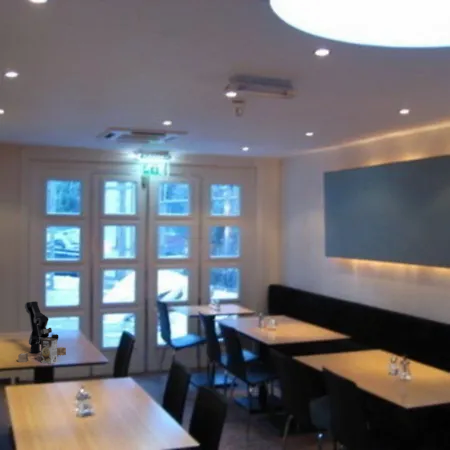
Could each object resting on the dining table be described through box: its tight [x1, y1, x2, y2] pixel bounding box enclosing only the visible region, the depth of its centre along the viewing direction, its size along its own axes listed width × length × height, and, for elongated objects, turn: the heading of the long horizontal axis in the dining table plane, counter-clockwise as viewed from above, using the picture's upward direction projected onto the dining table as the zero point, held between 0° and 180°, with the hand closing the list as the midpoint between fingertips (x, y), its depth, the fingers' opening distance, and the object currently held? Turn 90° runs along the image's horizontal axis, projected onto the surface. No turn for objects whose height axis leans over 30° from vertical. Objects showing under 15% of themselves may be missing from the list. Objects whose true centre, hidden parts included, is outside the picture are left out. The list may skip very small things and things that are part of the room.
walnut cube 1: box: [17, 352, 29, 363], centre depth 413 cm, size 5×5×5 cm
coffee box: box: [40, 338, 58, 365], centre depth 411 cm, size 9×6×16 cm
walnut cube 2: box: [57, 346, 67, 357], centre depth 433 cm, size 5×5×5 cm
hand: (46, 349), depth 415 cm, fingers closed
